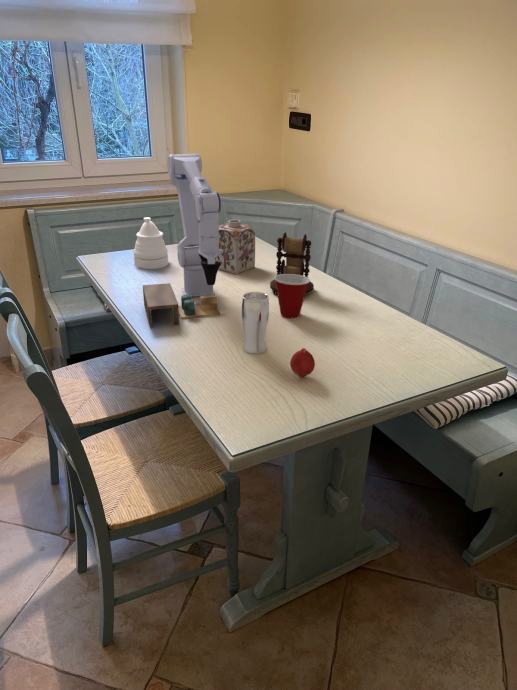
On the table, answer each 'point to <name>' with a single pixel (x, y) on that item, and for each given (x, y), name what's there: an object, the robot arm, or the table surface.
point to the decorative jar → (236, 247)
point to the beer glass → (255, 321)
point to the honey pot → (150, 247)
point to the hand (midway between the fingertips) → (209, 280)
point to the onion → (302, 363)
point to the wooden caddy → (160, 300)
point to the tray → (198, 307)
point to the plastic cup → (291, 293)
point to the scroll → (293, 259)
